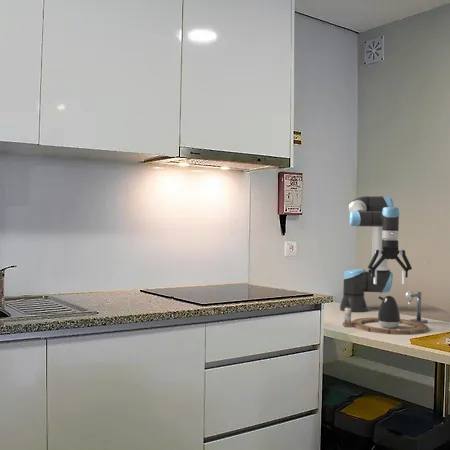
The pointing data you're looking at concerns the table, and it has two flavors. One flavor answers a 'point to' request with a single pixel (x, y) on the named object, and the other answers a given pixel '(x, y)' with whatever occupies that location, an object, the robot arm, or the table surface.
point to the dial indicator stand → (409, 297)
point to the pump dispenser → (388, 312)
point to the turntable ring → (359, 325)
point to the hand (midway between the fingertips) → (389, 284)
